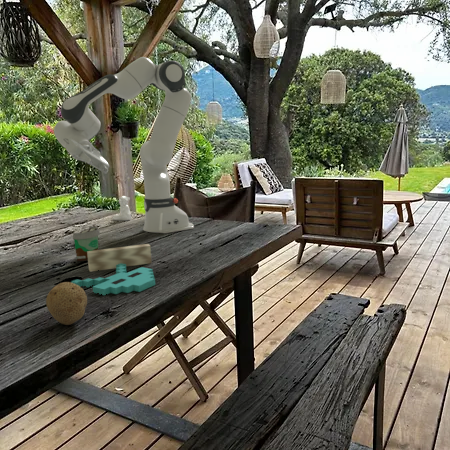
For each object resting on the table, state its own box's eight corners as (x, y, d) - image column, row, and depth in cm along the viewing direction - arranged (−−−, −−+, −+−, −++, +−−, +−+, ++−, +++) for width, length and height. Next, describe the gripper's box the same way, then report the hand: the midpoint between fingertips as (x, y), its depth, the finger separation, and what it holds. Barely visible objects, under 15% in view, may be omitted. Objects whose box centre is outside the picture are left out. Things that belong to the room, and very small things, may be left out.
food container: (91, 262, 154) (89, 234, 152) (74, 261, 156) (72, 233, 153) (107, 252, 166) (105, 226, 164) (92, 252, 167) (89, 225, 165)
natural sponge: (59, 314, 111) (55, 276, 109) (95, 315, 111) (91, 276, 108) (42, 331, 103) (37, 289, 100) (80, 332, 102) (76, 289, 100)
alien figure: (71, 288, 131) (122, 301, 120) (71, 281, 130) (121, 293, 120) (121, 269, 147) (169, 279, 137) (121, 263, 147) (169, 272, 136)
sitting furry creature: (128, 217, 232) (127, 193, 230) (137, 219, 226) (136, 195, 224) (112, 219, 226) (110, 196, 224) (121, 222, 220) (119, 197, 217)
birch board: (149, 260, 155) (148, 243, 154) (151, 263, 152) (150, 245, 151) (88, 269, 147) (87, 251, 146) (90, 271, 144) (88, 253, 143)
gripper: (66, 130, 169) (85, 149, 163) (101, 152, 187) (119, 170, 181) (56, 143, 170) (74, 163, 163) (91, 164, 188) (109, 182, 181)
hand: (98, 167), depth 172 cm, fingers open, 8 cm apart
